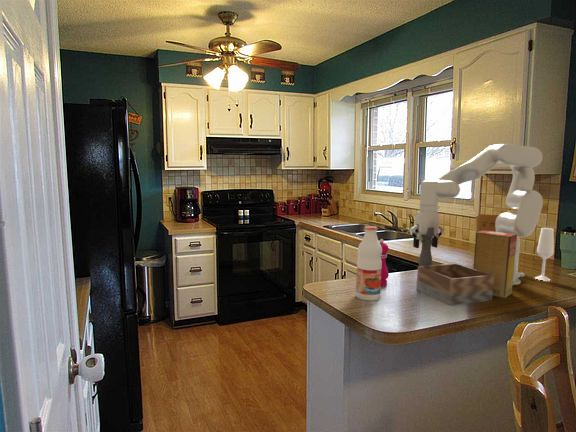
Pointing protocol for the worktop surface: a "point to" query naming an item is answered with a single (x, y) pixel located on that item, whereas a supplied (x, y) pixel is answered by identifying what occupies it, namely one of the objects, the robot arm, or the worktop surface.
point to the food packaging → (496, 259)
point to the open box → (455, 283)
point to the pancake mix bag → (486, 222)
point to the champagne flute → (545, 249)
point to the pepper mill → (384, 263)
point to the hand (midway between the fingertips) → (425, 247)
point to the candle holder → (426, 248)
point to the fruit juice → (369, 266)
